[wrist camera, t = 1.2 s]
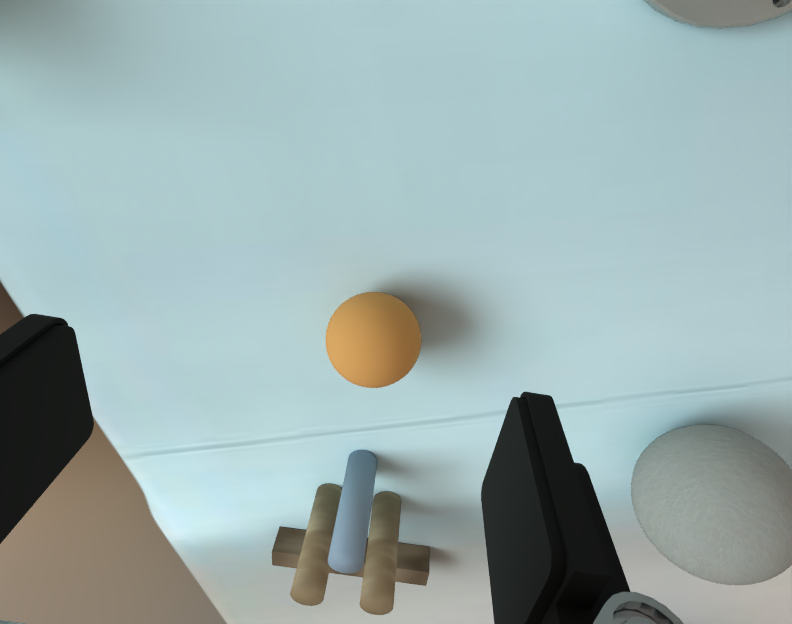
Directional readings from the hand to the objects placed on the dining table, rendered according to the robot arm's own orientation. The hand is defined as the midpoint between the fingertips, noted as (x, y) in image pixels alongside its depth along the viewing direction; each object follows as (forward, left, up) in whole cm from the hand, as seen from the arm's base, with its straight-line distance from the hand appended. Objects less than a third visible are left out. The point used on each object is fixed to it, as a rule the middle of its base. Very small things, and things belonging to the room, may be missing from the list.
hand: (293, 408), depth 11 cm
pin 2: (-3, +28, -21) cm, 35 cm away
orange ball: (-1, +10, -18) cm, 20 cm away
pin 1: (+2, +28, -21) cm, 35 cm away
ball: (-25, +18, -21) cm, 37 cm away
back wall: (-1, +35, -21) cm, 41 cm away
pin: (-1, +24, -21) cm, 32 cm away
